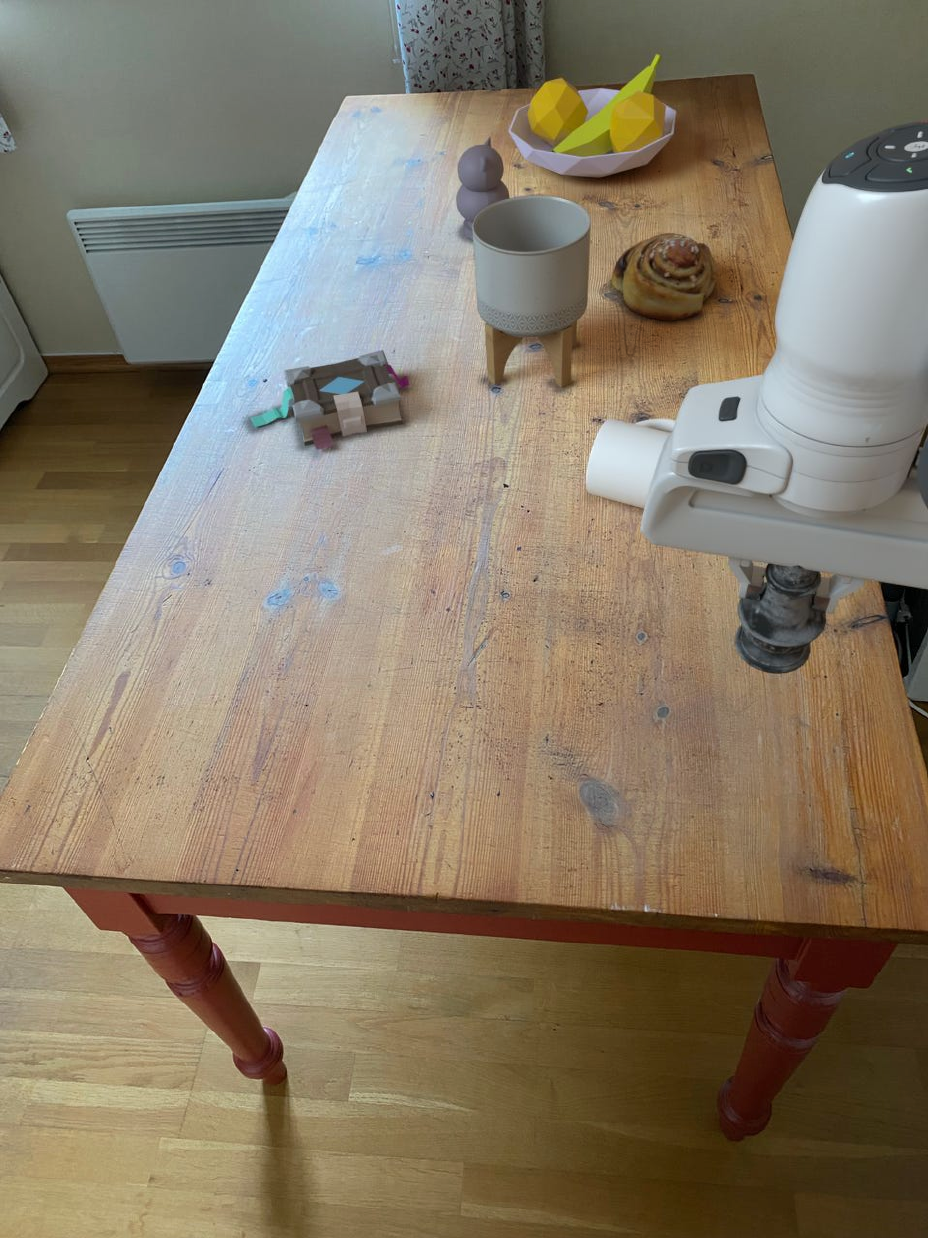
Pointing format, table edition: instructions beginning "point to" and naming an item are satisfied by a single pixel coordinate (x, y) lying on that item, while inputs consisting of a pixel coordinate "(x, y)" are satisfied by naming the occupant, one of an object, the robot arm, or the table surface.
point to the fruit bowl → (593, 127)
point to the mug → (626, 459)
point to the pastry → (666, 276)
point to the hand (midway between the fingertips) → (784, 598)
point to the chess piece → (780, 621)
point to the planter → (531, 277)
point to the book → (340, 398)
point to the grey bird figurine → (479, 183)
